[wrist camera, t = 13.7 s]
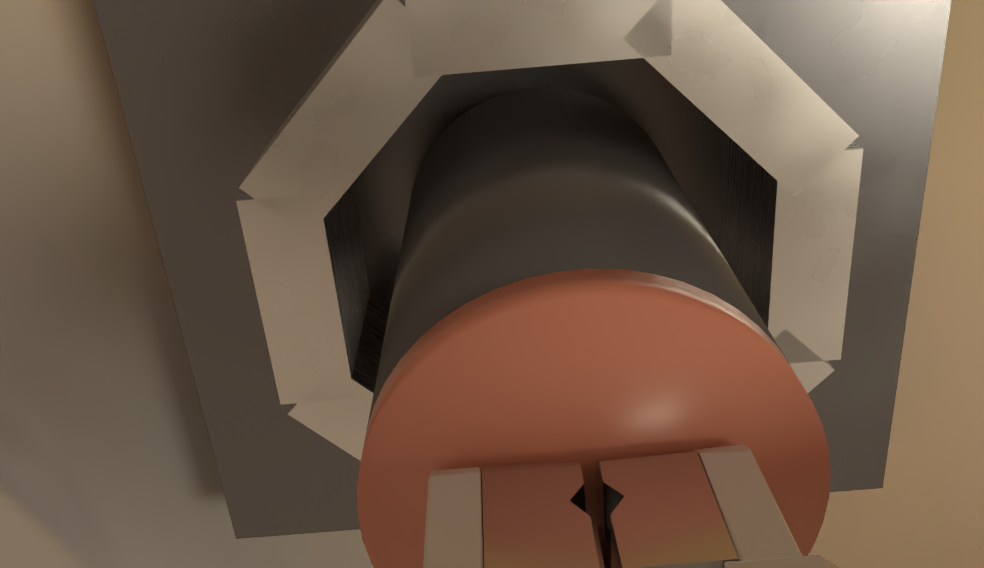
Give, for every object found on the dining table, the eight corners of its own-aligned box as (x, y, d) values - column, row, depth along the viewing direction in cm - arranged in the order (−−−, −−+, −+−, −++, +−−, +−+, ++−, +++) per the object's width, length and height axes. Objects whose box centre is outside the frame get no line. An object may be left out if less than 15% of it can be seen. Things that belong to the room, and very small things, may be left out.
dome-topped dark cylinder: (680, 81, 15) (863, 286, 8) (666, 328, 17) (802, 666, 10) (400, 92, 15) (331, 307, 8) (419, 338, 17) (379, 682, 10)
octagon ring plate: (941, -261, 14) (1125, -304, 10) (855, 446, 21) (949, 592, 17) (83, -185, 15) (-64, -197, 11) (251, 493, 21) (198, 650, 17)
